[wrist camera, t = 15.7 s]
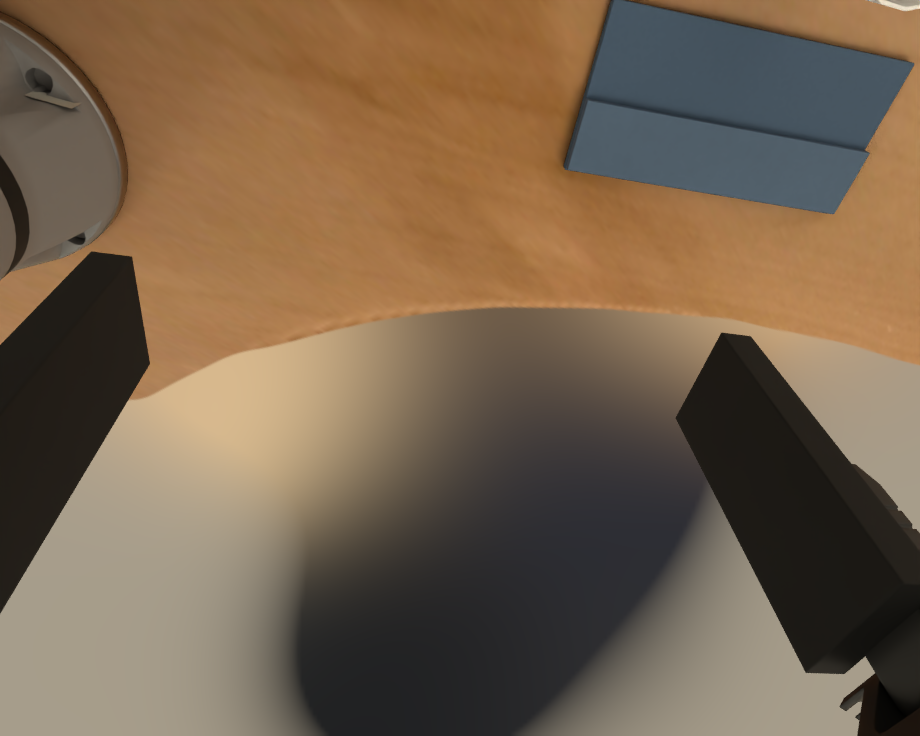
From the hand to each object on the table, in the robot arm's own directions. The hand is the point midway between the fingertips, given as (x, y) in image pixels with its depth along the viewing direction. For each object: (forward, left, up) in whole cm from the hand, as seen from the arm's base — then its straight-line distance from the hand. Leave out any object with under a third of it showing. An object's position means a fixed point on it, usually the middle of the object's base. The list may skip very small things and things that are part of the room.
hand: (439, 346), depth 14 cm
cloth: (+20, +1, -29) cm, 35 cm away
